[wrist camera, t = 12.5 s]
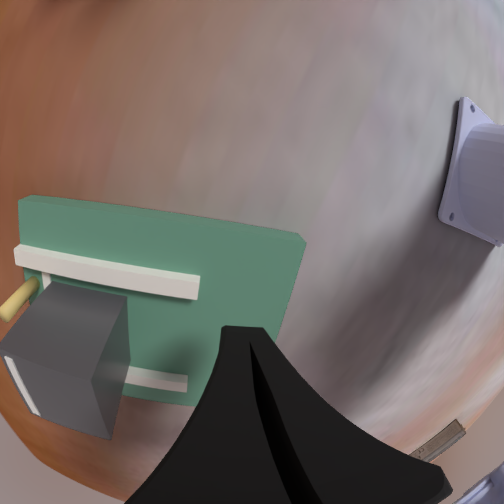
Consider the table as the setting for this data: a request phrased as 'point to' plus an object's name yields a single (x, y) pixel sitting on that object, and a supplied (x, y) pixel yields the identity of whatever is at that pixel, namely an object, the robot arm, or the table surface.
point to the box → (440, 442)
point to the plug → (71, 357)
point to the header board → (160, 281)
